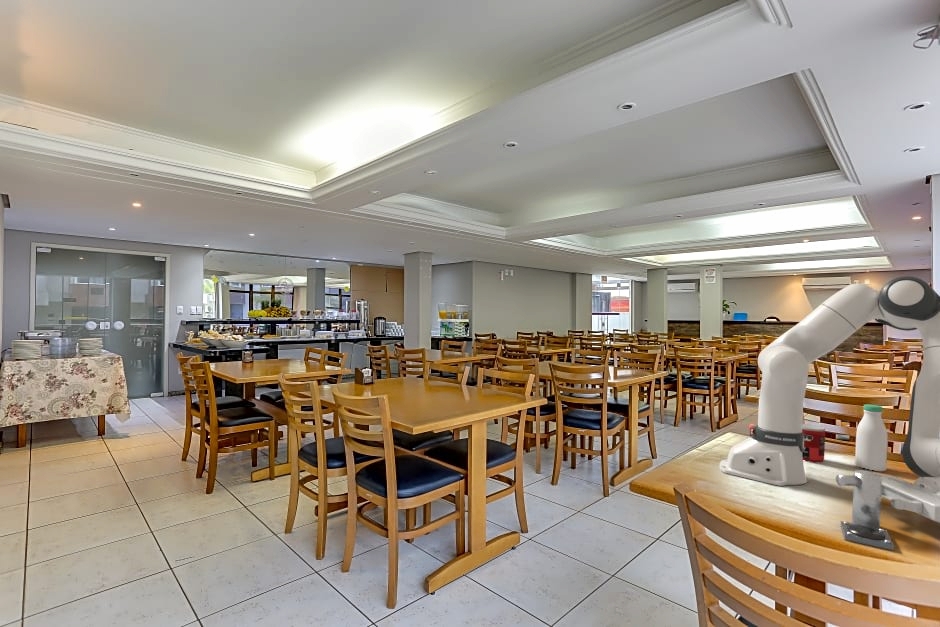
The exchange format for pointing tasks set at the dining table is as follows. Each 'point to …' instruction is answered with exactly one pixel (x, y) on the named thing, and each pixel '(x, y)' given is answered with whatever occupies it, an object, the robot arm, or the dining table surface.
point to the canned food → (813, 443)
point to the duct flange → (866, 535)
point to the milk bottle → (871, 440)
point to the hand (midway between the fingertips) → (875, 495)
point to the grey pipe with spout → (864, 496)
